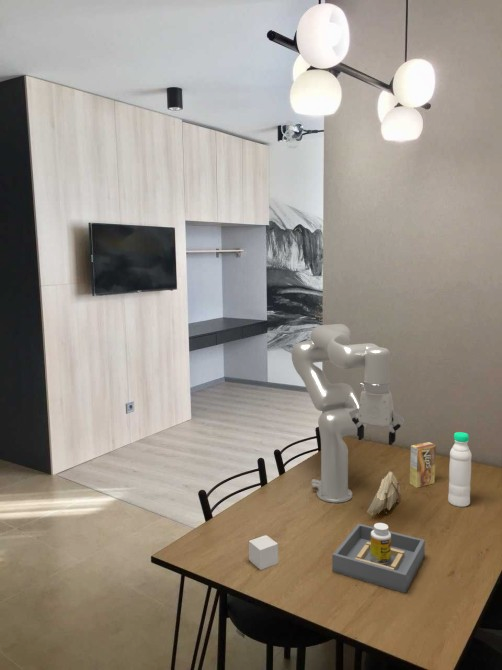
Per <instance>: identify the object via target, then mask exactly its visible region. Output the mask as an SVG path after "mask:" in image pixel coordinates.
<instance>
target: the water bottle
mask: <svg viewBox="0 0 502 670" xmlns="http://www.w3.org/2000/svg"><path fill="white" fill-rule="evenodd" d="M453 439H454V444H453V445H452V447H451V449H450V452H449V467H448V470H449V471H448V481H449V482H448V497H447V501H448V502H449V504H451V505H453V506H455V507H459V508H462V507H463V508H464V507H467V506H469V505H470V504H471V480H472V479H471V477H472V456H473V455H472V452H471V450H470V447H469V445H468V443H469V439H470V436H469V434H468V433H467V432H462V431H457V432H454V434H453Z"/></svg>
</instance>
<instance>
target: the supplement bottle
mask: <svg viewBox="0 0 502 670" xmlns="http://www.w3.org/2000/svg"><path fill="white" fill-rule="evenodd" d="M373 527H374V530H372V531H371V546H370V558H371V560H372V561H373V562H374V563H378V564H381V565H384V564H387V563H389V562H390V557H391V533H390V532H389V531H390V530H389V525H388V524H386V523H384V522H375V523H374V525H373Z"/></svg>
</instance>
